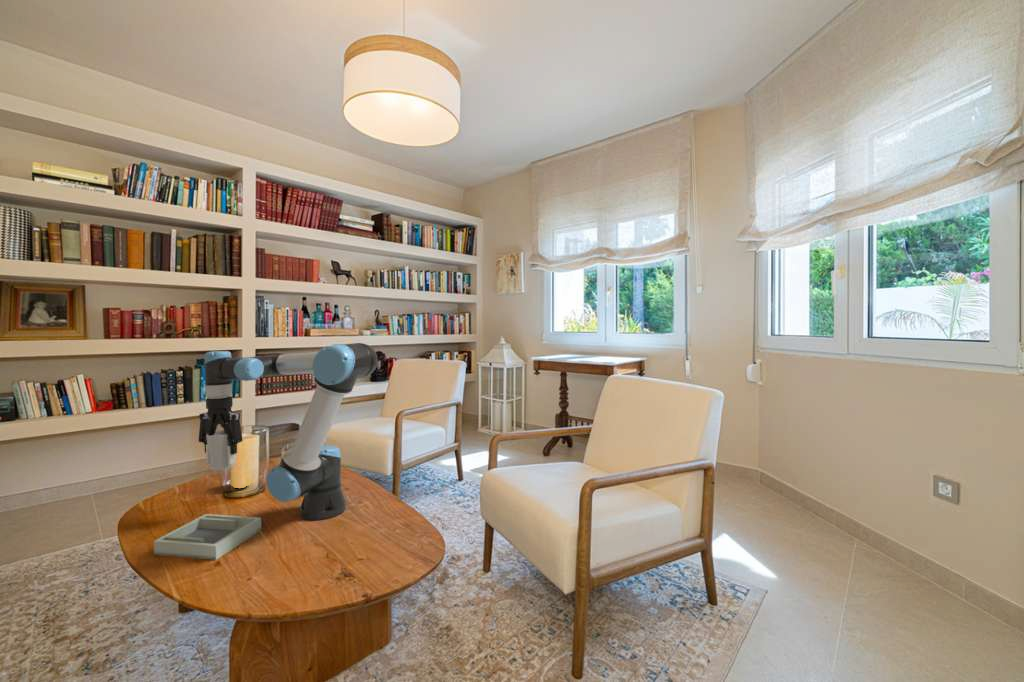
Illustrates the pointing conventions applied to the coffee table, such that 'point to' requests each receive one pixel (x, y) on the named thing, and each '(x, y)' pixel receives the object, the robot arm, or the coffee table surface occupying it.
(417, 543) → the coffee table surface
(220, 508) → the coffee table surface
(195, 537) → the box
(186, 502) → the coffee table surface
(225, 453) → the cup
